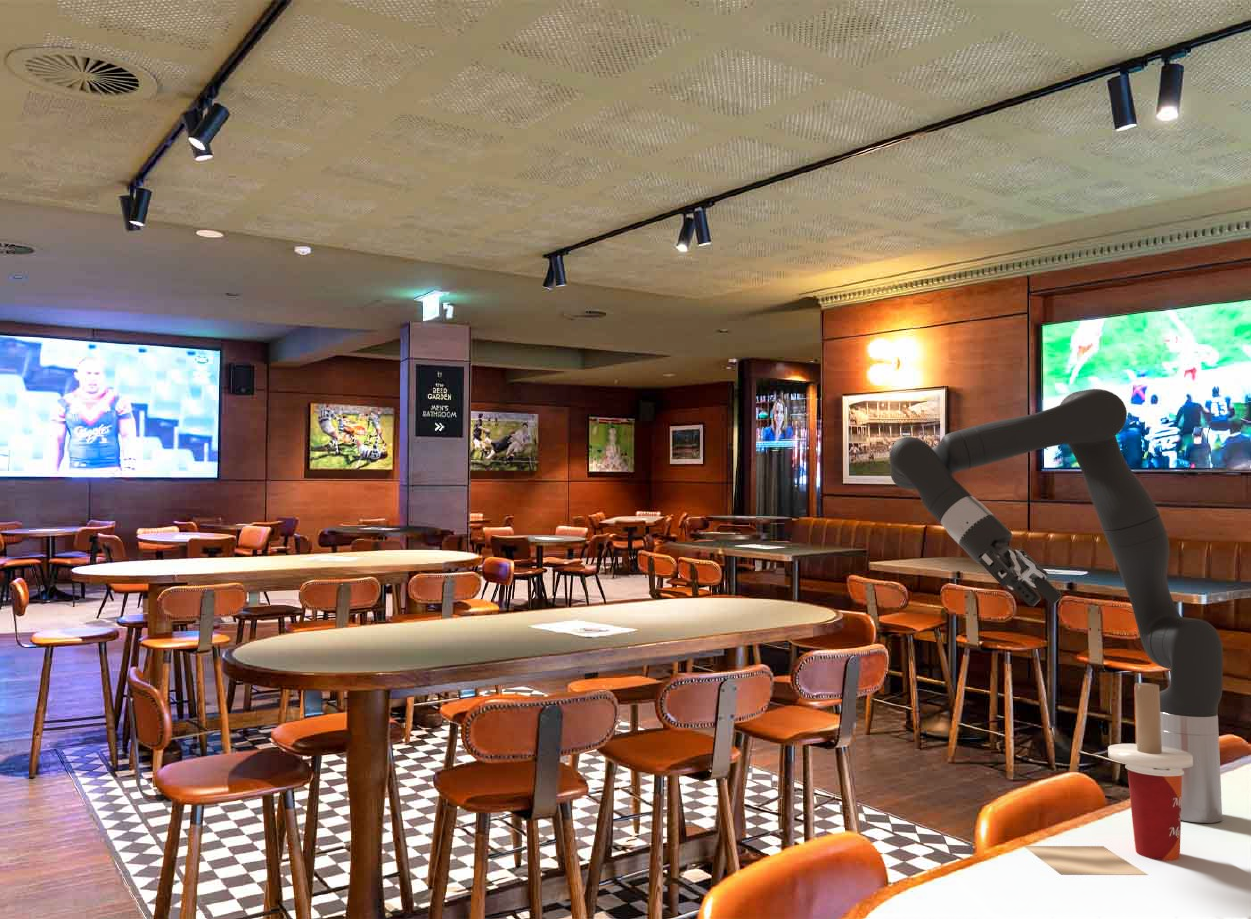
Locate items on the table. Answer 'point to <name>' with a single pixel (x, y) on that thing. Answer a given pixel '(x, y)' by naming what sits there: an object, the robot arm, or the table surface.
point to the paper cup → (1156, 811)
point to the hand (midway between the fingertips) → (1047, 601)
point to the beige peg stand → (1149, 736)
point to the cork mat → (1084, 860)
